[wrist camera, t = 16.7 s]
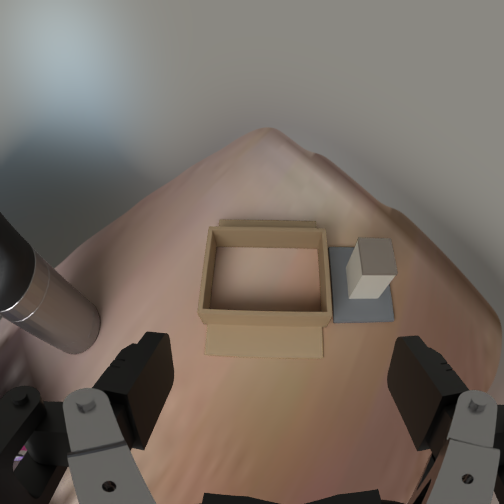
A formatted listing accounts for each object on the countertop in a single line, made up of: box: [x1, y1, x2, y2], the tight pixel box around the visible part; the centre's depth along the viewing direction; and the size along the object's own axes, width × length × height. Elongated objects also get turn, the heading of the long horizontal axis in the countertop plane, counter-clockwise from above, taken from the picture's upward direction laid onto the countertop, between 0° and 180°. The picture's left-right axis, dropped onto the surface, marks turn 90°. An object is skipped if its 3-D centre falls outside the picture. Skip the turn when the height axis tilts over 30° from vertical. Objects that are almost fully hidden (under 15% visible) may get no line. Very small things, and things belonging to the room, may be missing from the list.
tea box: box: [346, 237, 398, 299], centre depth 41 cm, size 5×5×8 cm
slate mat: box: [328, 247, 394, 323], centre depth 45 cm, size 9×12×1 cm
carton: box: [197, 220, 332, 359], centre depth 44 cm, size 17×22×4 cm
